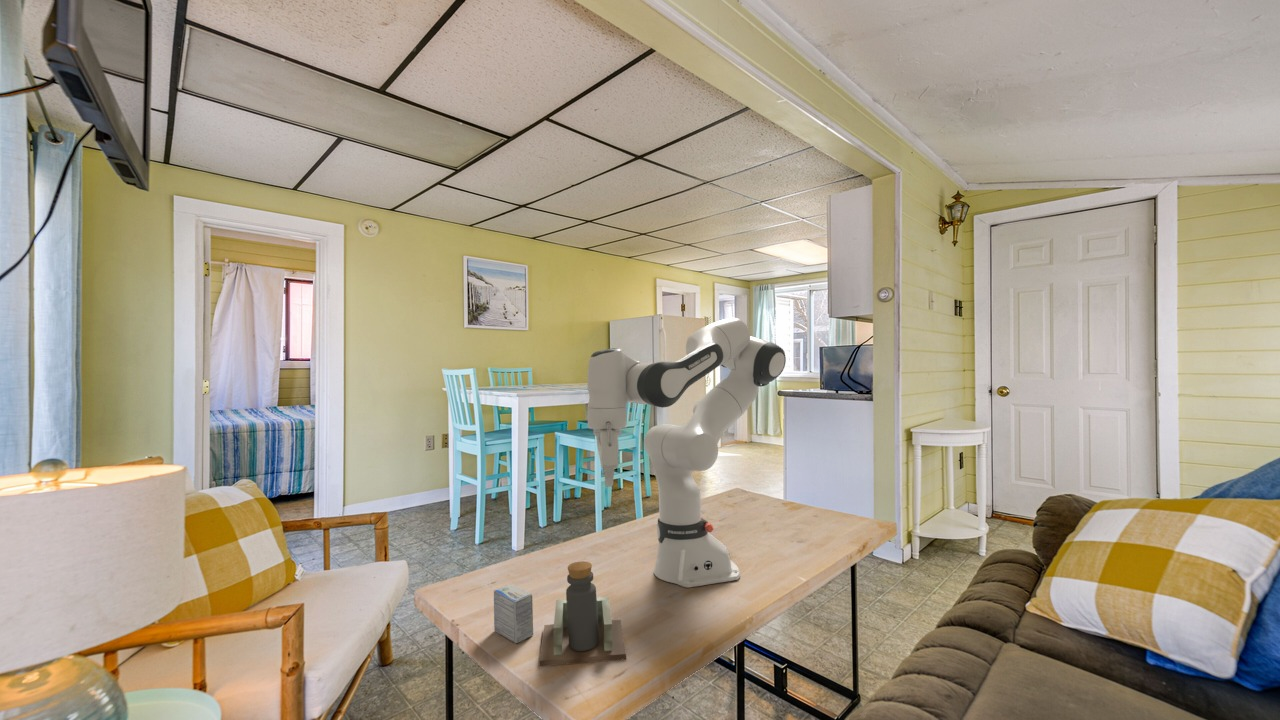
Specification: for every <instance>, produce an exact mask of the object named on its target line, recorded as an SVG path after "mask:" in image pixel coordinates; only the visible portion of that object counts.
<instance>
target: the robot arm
mask: <svg viewBox="0 0 1280 720" xmlns="http://www.w3.org/2000/svg"><path fill="white" fill-rule="evenodd" d="M685 353H686V355H685V356H683V357H681V358H680V359H677V360H676V361H656V362H641V361H639V360H636V359H634V358H633V357H631V356H629V355H628V354H627V353H625V352H624V350H623V349H622V348H619V347H618V348H617V347H613V348H607V349H600V350H597V351H594V352H593V353H592V354H591V355H590V357H589V361H588V365H587V382H586V383H587V390H588V396H589V397H588V404H587V428H588V429H589V430H590V429H591V430H593V436H595V439H596V447H597V452H598V456H599V460H600V466H601V468H602V476H603V478H604V485H605V487H607V488H609V487H611V488H612V487H613V486H614V476H615V469H617V468H619V464H620V463H619V462H620V461H619V460H620V459H619V456H620V455H619V451H620V450H619V436H621V435H622V429H625V428H627V427H628V426H627V425H628V420H627V419H628V417H627V413H628V412H627V406H628V405H627V404H628V403H632V404H639V405H640V404H641V405H648V406H649V405H650V406H652V407H658V408H669V407H671V406H672V405H674V404H676V403H677V402H678V401H679V399H681V397H682V396H683V394H684V393H685V392H686V390H688V388H689V387H690V386H692V385H693V384H695V383H696V382H697V381H699V380H701V379H702V378H703V377H705V376H707V375H708V374H710V373H711V372H713V371H714V370H715V369H717V368H718V367H720V366H721V367H723V368H727V369H729V370H730V372H729V374H728V375H727V377H726V378H724V379H723V380H721V381H720V382H719V383H718V384H716V385H715V386H714V387H712V389H710V390H709V391H708V392H707V393H706V394H705V395H703V396H702V397H701V398H700V399H699V400H698V401H697V402H696V403H695V404H694V406H693V409H692V416H691V418H690V419H689V420H688V421H687V422H686V423H684V424H681V425H679V424H672V423H664V424H663V423H661V424H658V425H657V424H656V425H654V426H652V427H651V428H650V429H649V430H647V432H646V434H645V436H644V439H643V440H644V441H643V446H644V449H645V452H646V453H647V455H648V457H649V458H650V460H651V463H652V464H651V465H652V468H653V470H654V476H655V479H656V483H657V489H658V514H659V516H658V518H657V531H656V532H657V540H658V546H657V555H656V562H655V566H654V569H653V574H654V575H655V576H656V577H657V578H658V579H660V580H661V581H664V582H668V583H671V584H676V585H679V586H680V587H683V588H694V587H701V586H706V585H712V584H719V583H726V582H731V581H737V580H739V579H740V576H741V571H740V568H739V567H738V565H737V564H736V563H735V562H734V561H733V560H731V558H730V557H731V556H730V553H729V550H728V548H727V547H726V545H724V543H722V541H720V540H718V539H717V538H716V537H715V536H714V535H712V534H711V533H712V532H713V531H714V526H713V524H712V523H711V522H708V520H706V519H704V517H702V513H701V512H702V510H701V507H702V506H701V489H700V486H699V485H698V484H697V482H696V481H695V478H694V476H693V474H692V472H704V471H708V470H709V469H711V468H712V467H713V465H715V463H716V461H717V459H718V456H719V445H718V444H719V442H720V439H721V438H722V437H723V436H724V434H725V433H726V432H727V431H728V430H729V429H730V428H731V427H732V426H733V424H735V423H736V422H737V421H738V420H739V419H740V418H741V417H742V416H743V415H744V413H746V411H747V410H748V409H749V408H750V406H752V404H753V402H754V401H755V400H756V398H757V397H758V394H759V387H765V386H767V385H768V384H770V383H771V382H774V381H775V380H776V379H777V378H778V377H779V376H780V375H782V373H783V371H784V369H785V366H786V362H787V361H786V360H787V358H786V353H785V351H784V349H783V348H782V347H781V346H779V345H778V344H776V343H774V342H769V341H767V340H764V339H762V338H758V337H756V336H752V335H751V331H750V328H749V326H748V325H747V323H745V322H744V321H743V320H742V319H741V318H737V317H731V318H730V317H729V318H724V319H721V320H717V321H715V322H711V323H709V324H707V325H705V326H703V327H701V328H699V329H697V330H696V331H694V332H693V333H692V334H691V335H690V336H688V337H687V340H686V344H685Z"/></svg>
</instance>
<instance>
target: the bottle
mask: <svg viewBox="0 0 1280 720" xmlns="http://www.w3.org/2000/svg"><path fill="white" fill-rule="evenodd" d="M592 566H593V565H592V563H591V562H589V561H575V562H572V563H569V565H567V571H568V575H567V577H566V581H567V583H568V584H569V585H568V586H567V588H566V590H565V597H566V599H565V600H567V619H568V636H569V646H570V648H571V649H573V650H576V651H586V650H590V649H592V648H594V647H596V646H597V645H598V643H599V631H598V613H597V597H598V596H597V588H596V585H595V584H594V583H593V582H592V581H593V580H594V573H593V571H592Z"/></svg>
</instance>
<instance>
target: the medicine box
mask: <svg viewBox="0 0 1280 720" xmlns="http://www.w3.org/2000/svg"><path fill="white" fill-rule="evenodd" d="M533 605H534V604H533V594H532V593H531V592H529V591H527V590H524V589H523V588H521V587H519V586H516V585H515V584H512V583H510V584H509V583H508V584H507V585H504V586H501V587H499V588H497V589H495V590H493V620H494V621H493V622H494V623H493V626H494V629H493V630H494V631H495V632H496V633H498V634H499V635H500V636H503V637H505V638H506V639H508V640H509V641H510V642H513V643H514V644H518V643H520V642H523V641H524V640H526V639H528V638H530V637H533V636H534V609H533Z"/></svg>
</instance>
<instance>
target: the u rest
mask: <svg viewBox="0 0 1280 720" xmlns="http://www.w3.org/2000/svg"><path fill="white" fill-rule="evenodd" d="M596 597H597V613H598V631H599V643H598V645H597V646H596V647H594V648H592V649H590V650H586V651H576V650H573V649H571V648H570V646H569V636H568V619H567V600H566V599H557V600H556V601H555V611H554V620H553V623H552V624H544V626H543V633H542V639H541V640H542V641H541V642H542V643H541V648H540V655H539V667H544V666H545V667H548V666H560V665H573V664H583V663H584V664H585V663H596V662H598V663H599V662H607V661H608V662H609V661H621V660H622V659H623V660H627V651H626V645H625V640H624V639H625V637H624V633H623V627H622V621H621V619H612V613H611V606H610V597H609V596H599V597H598V596H596Z"/></svg>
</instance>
